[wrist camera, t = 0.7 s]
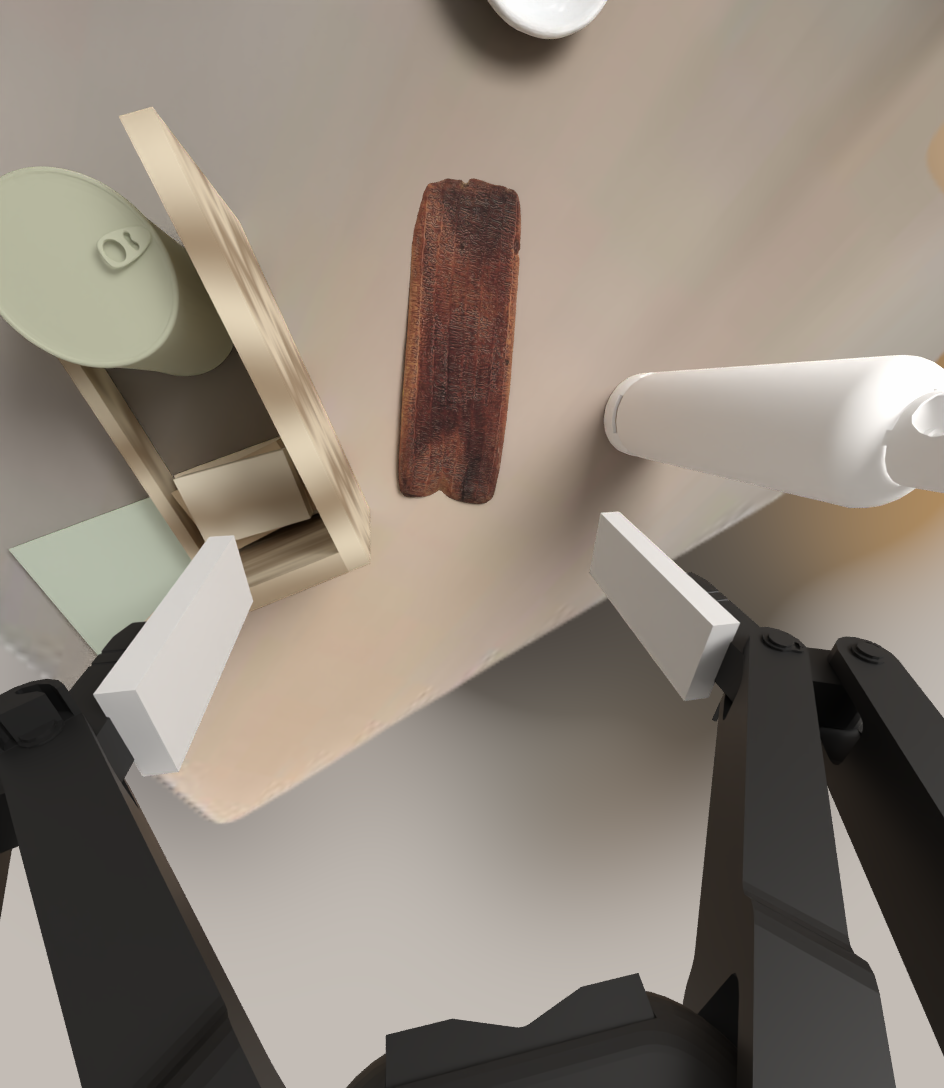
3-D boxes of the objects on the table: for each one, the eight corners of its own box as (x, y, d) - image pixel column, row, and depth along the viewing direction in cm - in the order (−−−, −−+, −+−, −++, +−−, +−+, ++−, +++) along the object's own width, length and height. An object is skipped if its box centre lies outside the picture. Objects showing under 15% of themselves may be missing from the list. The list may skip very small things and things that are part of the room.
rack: (35, 285, 31) (-205, 208, 18) (239, 221, 32) (152, 106, 19) (217, 569, 40) (145, 653, 27) (370, 510, 41) (370, 563, 28)
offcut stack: (183, 471, 37) (150, 485, 31) (295, 430, 38) (283, 436, 32) (228, 545, 39) (205, 569, 34) (332, 505, 40) (326, 523, 35)
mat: (13, 547, 36) (8, 549, 35) (155, 494, 37) (152, 496, 36) (119, 674, 41) (116, 677, 41) (241, 624, 42) (239, 627, 42)
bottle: (630, 470, 46) (961, 570, 20) (588, 412, 43) (918, 443, 17) (687, 417, 46) (1102, 451, 20) (649, 354, 42) (1085, 296, 17)
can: (263, 337, 35) (214, 312, 24) (167, 398, 35) (72, 401, 24) (177, 215, 31) (72, 118, 20) (69, 282, 31) (-97, 222, 20)
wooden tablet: (417, 157, 32) (544, 183, 34) (417, 171, 35) (537, 195, 36) (394, 499, 41) (497, 509, 42) (395, 494, 43) (493, 503, 44)
